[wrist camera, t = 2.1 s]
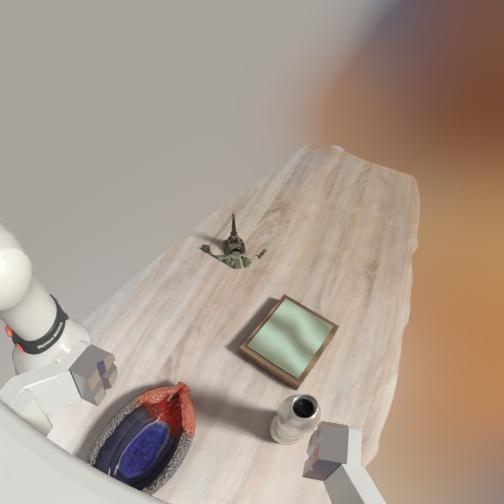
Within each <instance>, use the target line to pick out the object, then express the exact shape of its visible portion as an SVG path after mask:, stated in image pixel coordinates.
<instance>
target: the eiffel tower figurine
mask: <svg viewBox="0 0 504 504" xmlns="http://www.w3.org/2000/svg"><path fill="white" fill-rule="evenodd" d="M232 217H233V219H232V232H231V235H230V237H228V239H227V240H226V241H225V242H223V246H224V252H225V255H213V254H212V253H211V252H210V247H209V245H202V246H201V247H200V249H201V250H203V251H205V252H206V253H208V254H210V255H211V256H213V257H215V258H217V259H218V260H220V261H222V262H224V263H225V264H227V265H229V266H230V267H232V268H234V269H238V268H245V267H247V266H249V264H250V263H251V260H250V259H248V258H247V257H242V256H241V255H246V251H245V247H244V242H243V240H241V239H240V238H239V236H237V232H236V228H235V214H234V211H233V214H232ZM266 251H267V250H265V249H263V251H262V252H261V253H259V255H256V256H257V257H258V258H259V259H260V258H261V257H262V256H263V254H264V253H265V252H266Z"/></svg>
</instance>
